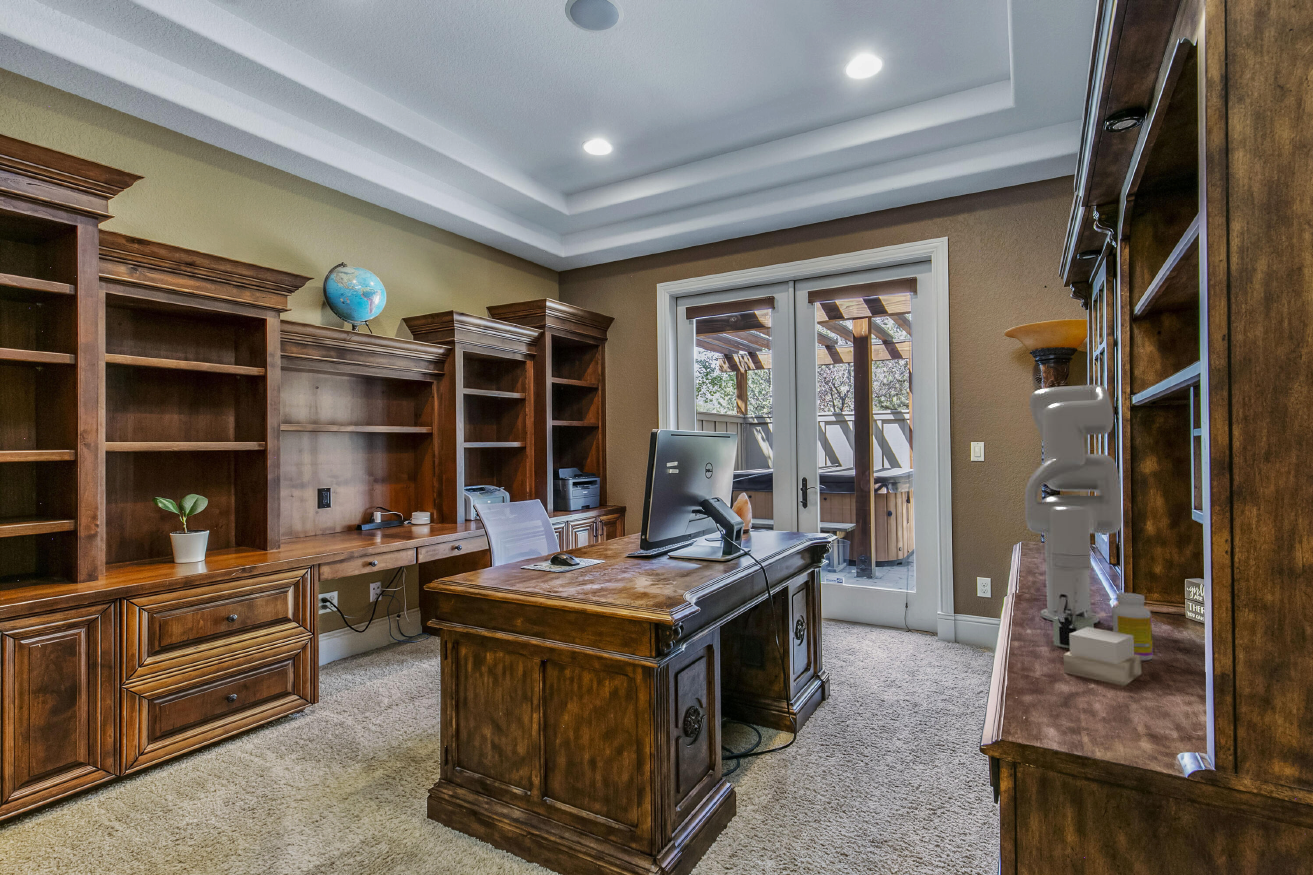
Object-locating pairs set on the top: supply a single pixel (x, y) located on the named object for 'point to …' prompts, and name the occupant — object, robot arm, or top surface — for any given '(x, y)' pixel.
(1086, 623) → the stack block
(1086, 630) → the tower top block
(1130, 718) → the top surface
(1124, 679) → the tower base block
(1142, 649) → the supplement bottle
